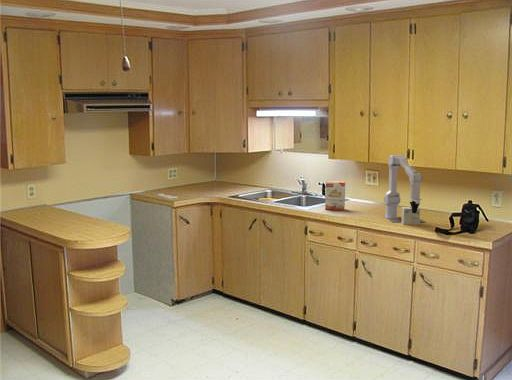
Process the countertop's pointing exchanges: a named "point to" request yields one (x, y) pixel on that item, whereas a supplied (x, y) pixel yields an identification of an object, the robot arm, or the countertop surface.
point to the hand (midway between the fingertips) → (414, 213)
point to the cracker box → (335, 195)
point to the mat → (401, 220)
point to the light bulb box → (410, 216)
